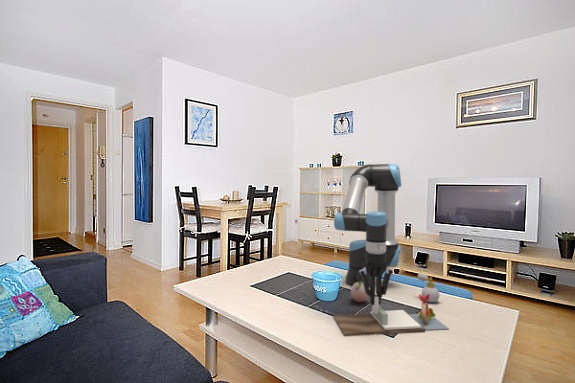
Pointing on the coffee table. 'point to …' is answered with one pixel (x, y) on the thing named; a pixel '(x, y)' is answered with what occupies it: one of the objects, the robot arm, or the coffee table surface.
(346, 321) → the puzzle board
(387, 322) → the sliding cover
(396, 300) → the coffee table surface
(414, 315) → the slate mat
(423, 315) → the bird rattle
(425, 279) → the perfume bottle
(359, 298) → the decorative fruit
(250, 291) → the coffee table surface
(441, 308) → the coffee table surface
